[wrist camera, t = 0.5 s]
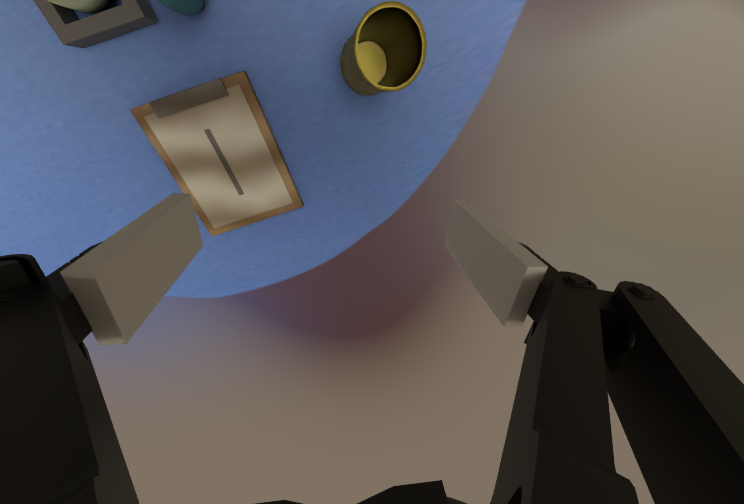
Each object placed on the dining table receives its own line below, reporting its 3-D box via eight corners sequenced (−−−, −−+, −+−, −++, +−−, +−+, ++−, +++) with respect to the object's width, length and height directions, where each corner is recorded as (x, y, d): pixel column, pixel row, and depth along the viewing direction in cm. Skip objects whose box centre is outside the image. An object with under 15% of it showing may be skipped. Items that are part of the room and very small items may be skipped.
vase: (372, 107, 35) (396, 116, 22) (329, 69, 32) (329, 57, 20) (405, 59, 33) (450, 40, 20) (362, 16, 30) (384, -35, 18)
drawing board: (134, 109, 32) (126, 110, 31) (245, 71, 31) (242, 70, 30) (213, 233, 40) (210, 238, 39) (303, 204, 39) (302, 208, 38)
